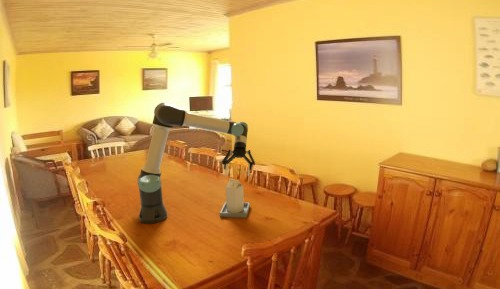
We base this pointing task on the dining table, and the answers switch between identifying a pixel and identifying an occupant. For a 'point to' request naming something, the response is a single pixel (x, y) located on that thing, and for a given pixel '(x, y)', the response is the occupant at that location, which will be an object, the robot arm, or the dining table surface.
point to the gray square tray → (237, 215)
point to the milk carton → (234, 196)
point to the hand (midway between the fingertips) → (237, 174)
